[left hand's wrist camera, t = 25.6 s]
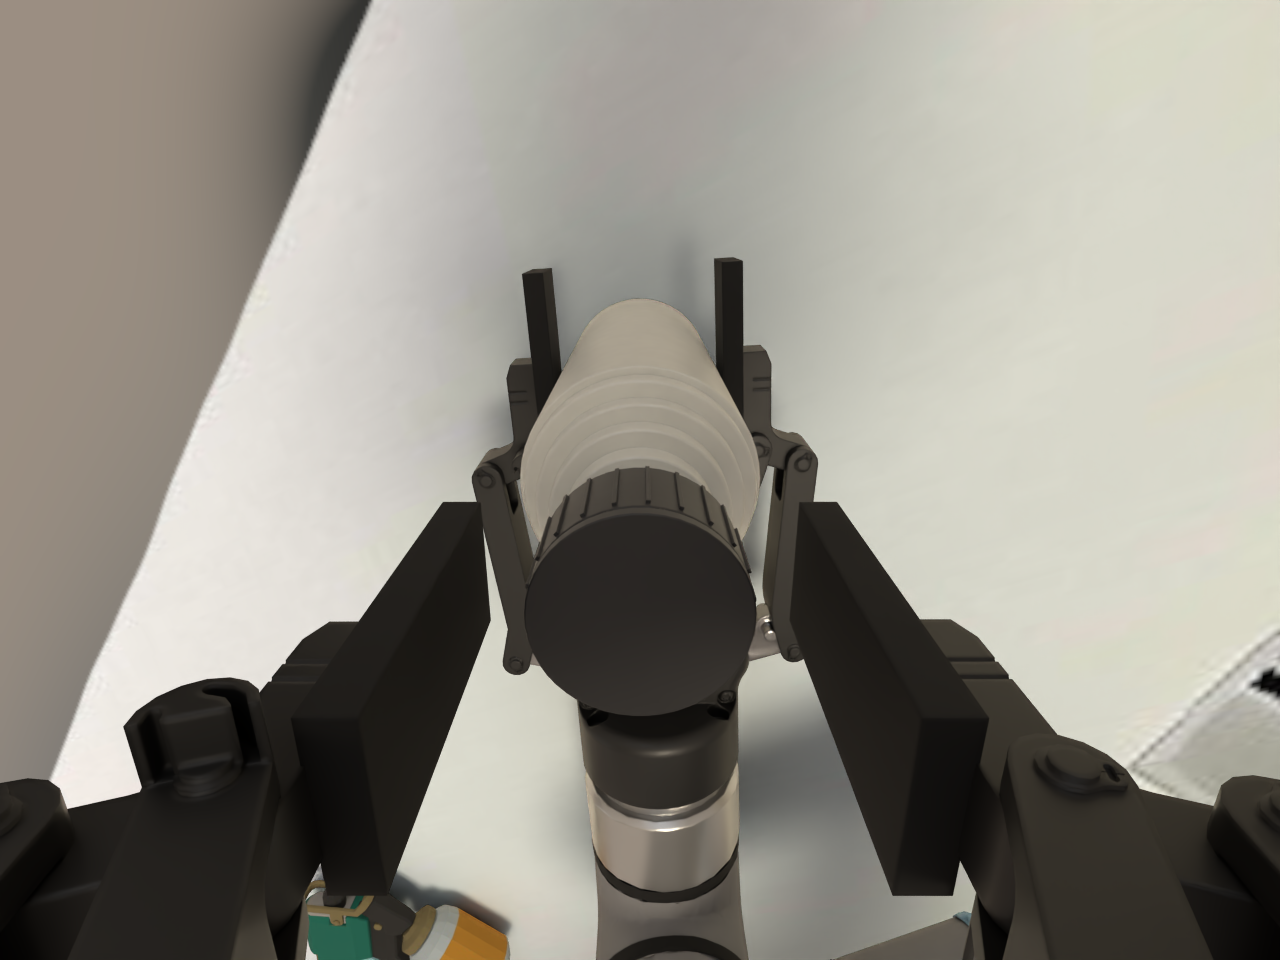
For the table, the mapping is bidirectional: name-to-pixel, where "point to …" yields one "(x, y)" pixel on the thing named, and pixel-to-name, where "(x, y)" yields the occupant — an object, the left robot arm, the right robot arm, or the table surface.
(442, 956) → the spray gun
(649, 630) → the cap
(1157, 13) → the table surface
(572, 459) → the bottle
